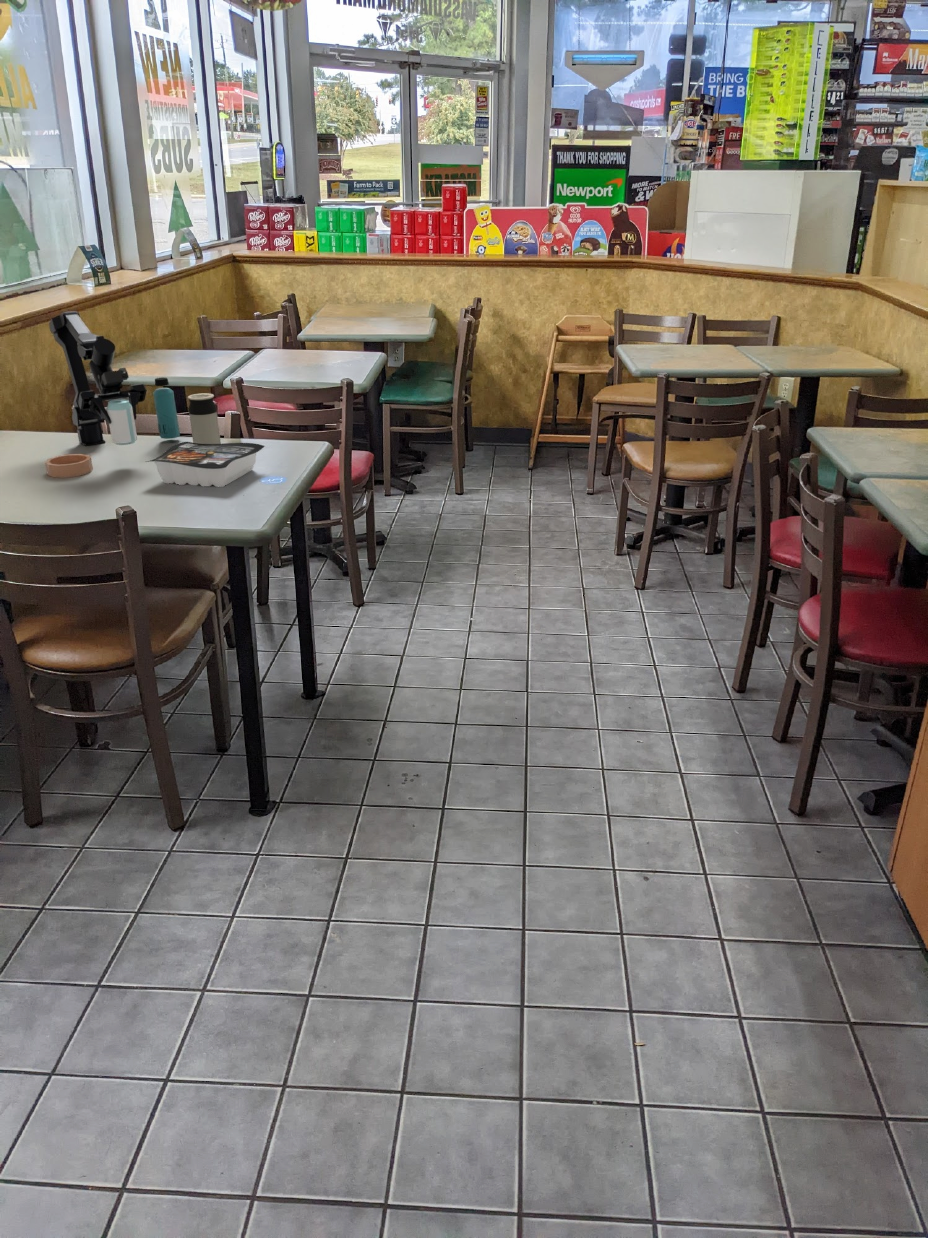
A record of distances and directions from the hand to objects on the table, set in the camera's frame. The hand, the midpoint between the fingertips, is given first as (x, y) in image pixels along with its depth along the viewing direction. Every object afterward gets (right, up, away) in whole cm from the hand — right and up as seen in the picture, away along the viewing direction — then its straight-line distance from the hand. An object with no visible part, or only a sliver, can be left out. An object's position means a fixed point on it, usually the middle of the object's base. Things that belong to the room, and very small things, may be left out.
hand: (123, 420), depth 282 cm
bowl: (-16, -14, +1) cm, 21 cm away
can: (-1, -6, +4) cm, 7 cm away
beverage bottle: (+4, 0, +31) cm, 32 cm away
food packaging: (+26, -17, -6) cm, 32 cm away
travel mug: (+21, -8, +14) cm, 27 cm away
